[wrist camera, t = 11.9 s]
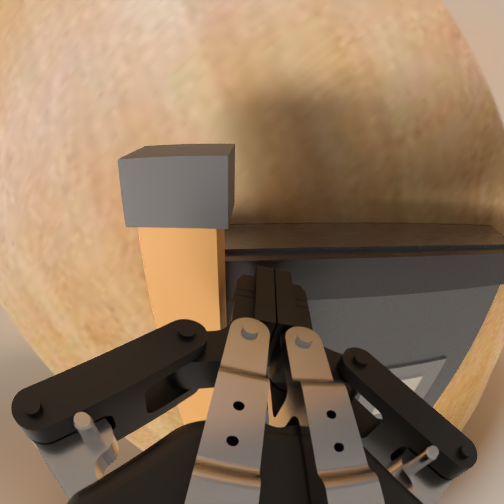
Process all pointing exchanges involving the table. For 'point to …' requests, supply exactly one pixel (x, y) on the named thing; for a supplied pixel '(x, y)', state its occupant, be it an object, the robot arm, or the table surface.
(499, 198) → the table surface
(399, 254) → the plate
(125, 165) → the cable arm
